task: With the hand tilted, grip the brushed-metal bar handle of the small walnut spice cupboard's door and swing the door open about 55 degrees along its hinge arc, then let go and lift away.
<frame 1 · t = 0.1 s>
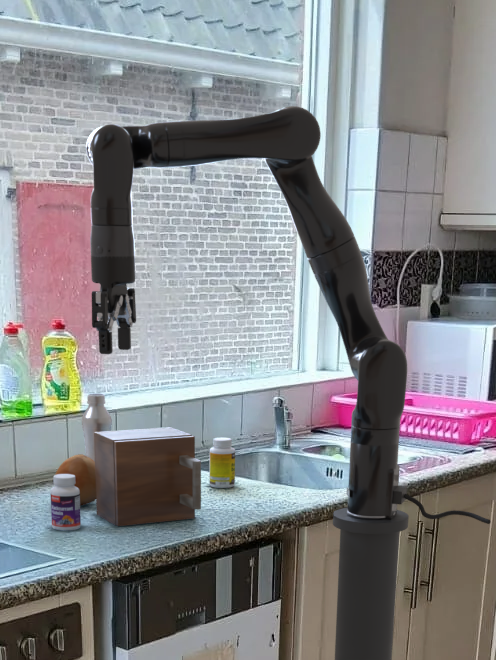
hand: (115, 351, 212), 32 cm above the countertop, tool pointing down, fingers open, 8 cm apart
door: (162, 484, 223), point 8 cm above the countertop, hinge at 0.0°
onion: (79, 505, 242), on the countertop
supplement bottle: (222, 487, 262), on the countertop
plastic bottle: (99, 491, 255), on the countertop
cabinet: (144, 516, 234), on the countertop
pill bottle: (66, 528, 224), on the countertop
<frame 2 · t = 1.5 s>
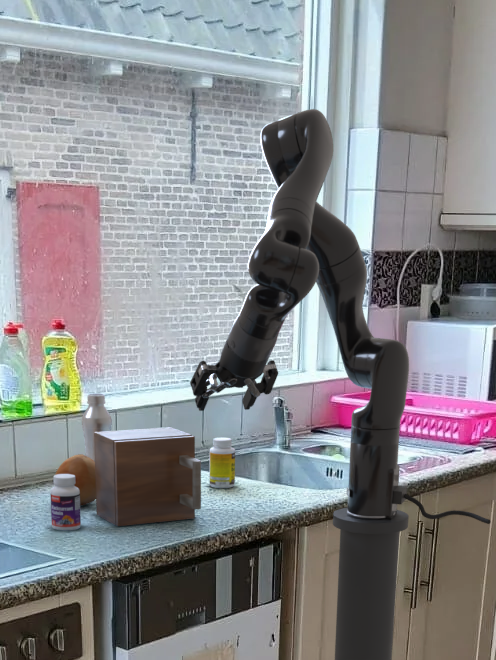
hand: (222, 406, 208), 24 cm above the countertop, tool tilted 45°, fingers open, 8 cm apart
nothing on the countertop moved.
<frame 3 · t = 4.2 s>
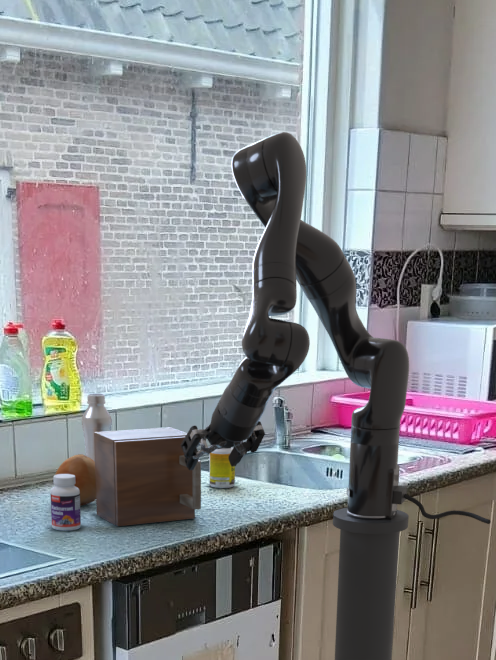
hand: (210, 464, 216), 13 cm above the countertop, tool tilted 45°, fingers open, 8 cm apart
nothing on the countertop moved.
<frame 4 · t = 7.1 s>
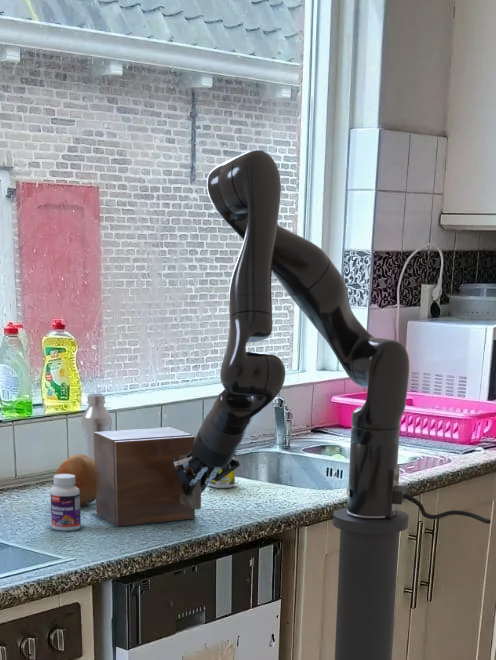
hand: (191, 491, 225), 6 cm above the countertop, tool tilted 45°, fingers closed on door
door: (162, 484, 223), point 8 cm above the countertop, hinge at 0.0°, touching gripper
everything else where it was.
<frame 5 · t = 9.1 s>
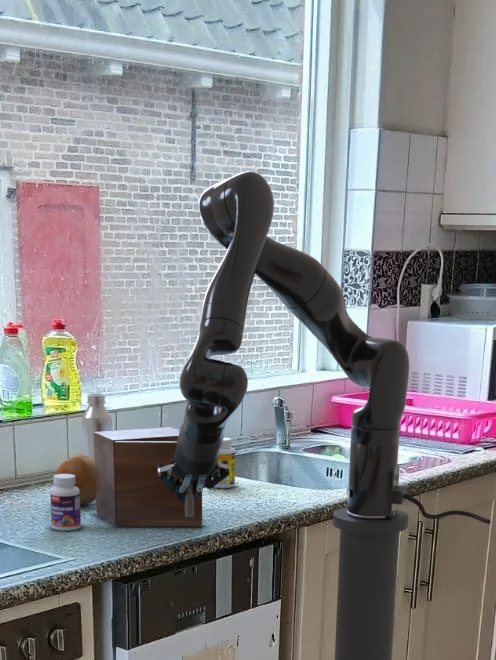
hand: (186, 497, 220), 6 cm above the countertop, tool tilted 45°, fingers closed on door
door: (159, 488, 220), point 8 cm above the countertop, hinge at 24.2°, touching gripper
everything else where it was.
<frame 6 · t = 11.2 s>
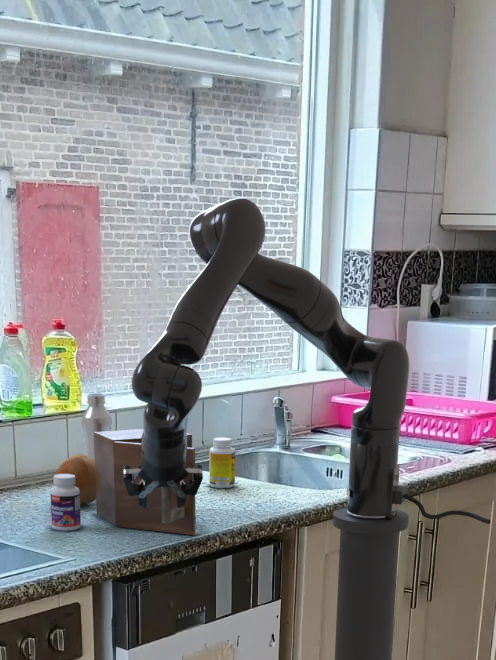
hand: (161, 503, 214), 7 cm above the countertop, tool tilted 45°, fingers open, 5 cm apart
door: (146, 491, 217), point 8 cm above the countertop, hinge at 49.9°
everything else where it was.
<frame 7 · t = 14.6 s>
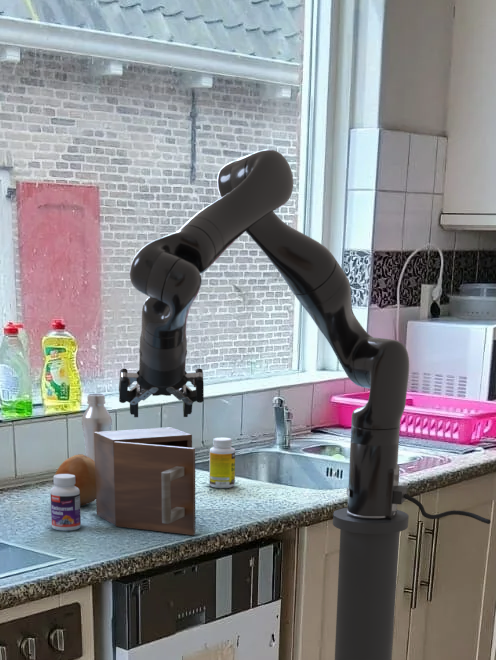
hand: (160, 413, 207), 23 cm above the countertop, tool tilted 45°, fingers open, 8 cm apart
nothing on the countertop moved.
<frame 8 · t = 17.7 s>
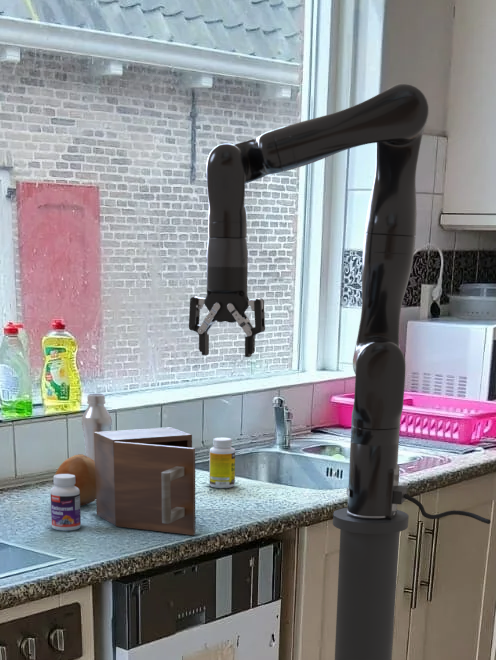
hand: (226, 355, 226), 30 cm above the countertop, tool pointing down, fingers open, 8 cm apart
nothing on the countertop moved.
at the end: door at +50° (first picture: +0°); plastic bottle tilted 0° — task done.
